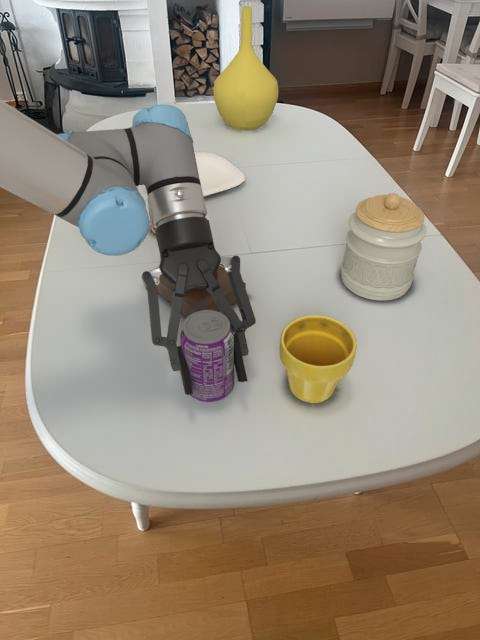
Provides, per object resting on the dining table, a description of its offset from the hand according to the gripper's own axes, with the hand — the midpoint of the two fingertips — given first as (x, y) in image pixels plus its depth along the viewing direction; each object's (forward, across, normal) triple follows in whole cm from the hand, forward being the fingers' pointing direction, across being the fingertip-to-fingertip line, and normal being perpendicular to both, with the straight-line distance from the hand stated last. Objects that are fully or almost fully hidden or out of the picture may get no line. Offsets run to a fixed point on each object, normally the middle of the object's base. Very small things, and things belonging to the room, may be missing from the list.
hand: (216, 387), depth 70 cm
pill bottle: (-31, +2, +39) cm, 50 cm away
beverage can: (0, 0, +5) cm, 5 cm away
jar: (-11, +36, +18) cm, 42 cm away
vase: (-66, +36, +74) cm, 106 cm away
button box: (-16, +4, +23) cm, 28 cm away
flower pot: (+4, +15, +4) cm, 16 cm away
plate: (-45, +13, +53) cm, 71 cm away
